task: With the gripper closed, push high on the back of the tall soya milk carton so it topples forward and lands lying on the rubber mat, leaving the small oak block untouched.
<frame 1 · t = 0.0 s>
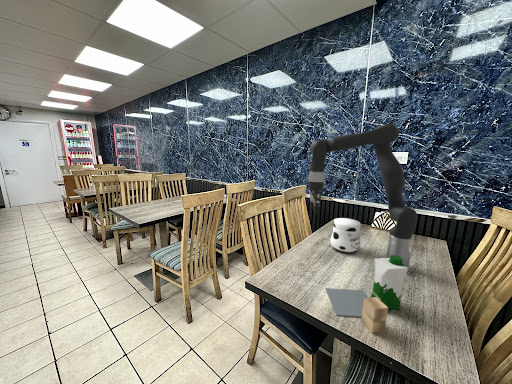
hand: (314, 211, 104), 29 cm above the table, fingers open, 8 cm apart
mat: (350, 302, 79), on the table
soya milk: (384, 304, 79), on the table
milk container: (344, 248, 127), on the table
oak block: (372, 326, 68), on the table
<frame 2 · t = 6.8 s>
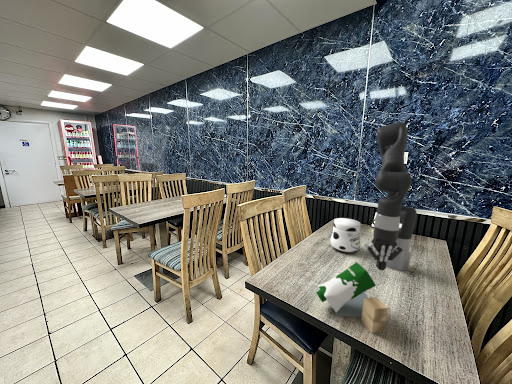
hand: (380, 269, 76), 15 cm above the table, fingers closed
soya milk: (366, 273, 76), point 14 cm above the table
everything else where it was.
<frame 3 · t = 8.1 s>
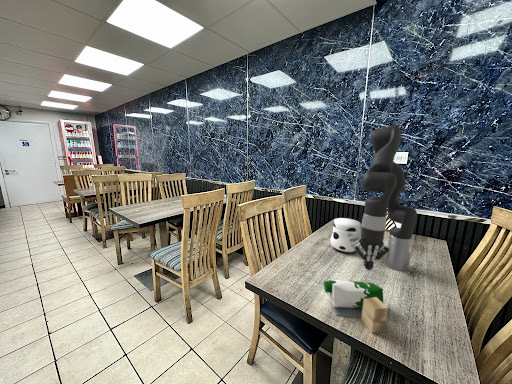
hand: (367, 268, 76), 15 cm above the table, fingers closed
soya milk: (379, 295, 76), point 5 cm above the table, touching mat
everything else where it was.
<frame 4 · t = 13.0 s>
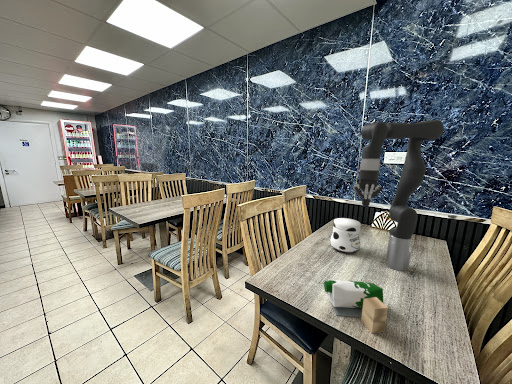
hand: (365, 206, 92), 35 cm above the table, fingers closed
nothing on the table moved.
at the end: soya milk tilted 90°; soya milk moved 6.2 cm from its start; soya milk inside the target area (10.6 cm from its centre), point 4.9 cm above the table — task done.
